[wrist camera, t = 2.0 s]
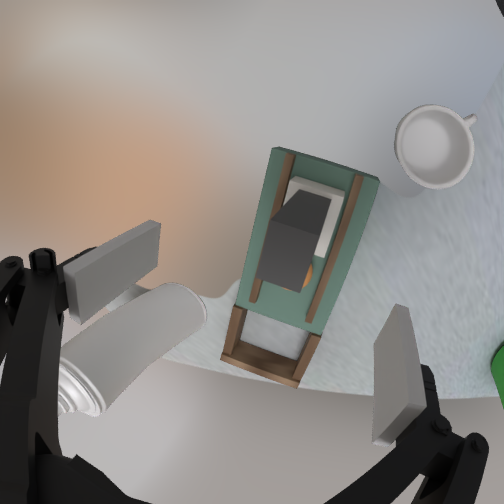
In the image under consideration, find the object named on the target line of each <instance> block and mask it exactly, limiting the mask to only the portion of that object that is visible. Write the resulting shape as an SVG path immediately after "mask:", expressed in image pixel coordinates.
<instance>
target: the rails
mask: <svg viewBox="0 0 504 504" xmlns="http://www.w3.org/2000/svg"><path fill="white" fill-rule="evenodd" d="M295 158H296V154H292V153H289V152H288V153H286V155H285V159H284V163H283V167H282V171H281V175H280V179H279V183H278V187H277V191H276V195H275V199H274V203H273V207H272V211H271V215H270V219H271V218H272V217H273V216H274V215H275V214H276V213H277V212H278V211H279V210H280V209H281V208H282V207H283V204H284V200H285V197H286V193H287V189H288V185H289V181H290V177H291V173H292V170H293V166H294V162H295ZM363 179H364V176H363V175H360V174H357V173H356V174H355V177H354V181H353V184H352V187H351V190H350V194H349V197H348V200H347V203H346V206H345V209H344V213H343V216H342V219H341V222H340V225H339V228H338V231H337V234H336V237H335V239H334V242H333V245H332V248H331V251H330V254H329V257H328V260H327V262H326V265H325V268H324V271H323V273H322V276H321V279H320V282H319V284H318V287H317V290H316V292H315V295H314V297H313V300H312V303H311V305H310V308H309V310H308V313H307V316H306V319H305V322H307V323H310V324H311V323H312V321H313V318H314V316H315V314H316V311H317V309H318V306H319V304H320V301H321V299H322V296H323V294H324V291H325V289H326V286H327V283H328V281H329V278H330V276H331V273H332V270H333V268H334V265H335V262H336V259H337V257H338V254H339V251H340V248H341V246H342V243H343V240H344V237H345V234H346V231H347V229H348V226H349V223H350V220H351V217H352V214H353V211H354V208H355V205H356V202H357V199H358V195H359V192H360V189H361V186H362V183H363ZM270 219H269V223H270ZM269 223H268V227H269ZM268 227H267V230H268ZM266 234H267V231H266ZM265 238H266V235H265ZM264 242H265V239H264ZM263 246H264V243H263ZM262 250H263V247H262ZM261 254H262V251H261ZM260 258H261V255H260ZM260 258H259V262H260ZM259 262H258V266H259ZM258 266H257V270H258ZM257 270H256V273H257ZM255 277H256V274H255ZM262 283H263V280H260V279H258V278H254V282H253V286H252V290H251V294H250V297H249V302H251V303H254V304H255V303H256V301H257V300H258V297H259V293H260V290H261V286H262Z"/></svg>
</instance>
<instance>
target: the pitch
mask: <svg viewBox="0 0 504 504" xmlns="http://www.w3.org/2000/svg"><path fill="white" fill-rule="evenodd" d="M288 152H289V153H292V154H296V158H295V162H294V166H293V170H292V173H291V177H290V180H291V179H292V178H293V177H295V176H298V177H301V178H305V179H308V180H311V181H314V182H318V183H321V184H324V185H327V186H330V187H333V188H336V189H339V190H342V191H345V195H344V200H343V203H342V206H341V209H340V212H339V215H338V218H337V222H336V225H335V228H334V231H333V234H332V237H331V240H330V242H329V245H328V248H327V251H326V254H325V257H324V258H323V257H320V256H317V255H314V256H313V259H312V262H311V264H312V269H313V273H312V277H311V280H310V282H309V283H308V284H307V285H306V286H305V287H303V288H302V290H301V293H297V292H294V291H290V290H286V289H284V288H282V287H280V286H277V285H274V284H272V283H269V282H266V281H263V283H262V286H261V290H260V293H259V297H258V300H257V301H256V303H255V304H254V303H251V302H249V297H250V294H251V290H252V286H253V282H254V278H255V274H256V270H257V266H258V262H259V258H260V255H261V251H262V247H263V243H264V239H265V235H266V231H267V227H268V223H269V219H270V215H271V211H272V207H273V203H274V199H275V195H276V191H277V187H278V183H279V179H280V175H281V171H282V167H283V163H284V159H285V155H286V153H288ZM356 173H357V174H360V175H363V176H364V179H363V183H362V186H361V189H360V192H359V195H358V199H357V202H356V205H355V208H354V211H353V214H352V217H351V220H350V223H349V226H348V229H347V231H346V234H345V237H344V240H343V243H342V246H341V248H340V251H339V254H338V257H337V259H336V262H335V265H334V268H333V270H332V273H331V276H330V278H329V281H328V283H327V286H326V289H325V291H324V294H323V296H322V299H321V301H320V304H319V306H318V309H317V311H316V314H315V316H314V318H313V321H312V323H311V324H310V323H307V322H305V319H306V316H307V313H308V310H309V308H310V305H311V303H312V300H313V297H314V295H315V292H316V290H317V287H318V284H319V282H320V279H321V276H322V273H323V271H324V268H325V265H326V262H327V260H328V257H329V254H330V251H331V248H332V245H333V242H334V239H335V237H336V234H337V231H338V228H339V225H340V222H341V219H342V216H343V213H344V209H345V206H346V203H347V200H348V197H349V194H350V190H351V187H352V184H353V181H354V177H355V174H356ZM379 183H380V181H379V179H378V177H375V176H373V175H370V174H367V173H364V172H361V171H358V170H355V169H352V168H349V167H346V166H343V165H340V164H337V163H334V162H331V161H327V160H324V159H321V158H317V157H314V156H310V155H307V154H304V153H300V152H296V151H293V150H290V149H286V148H282V147H275V148H272V150H271V154H270V158H269V163H268V167H267V171H266V176H265V180H264V184H263V189H262V193H261V197H260V201H259V205H258V210H257V214H256V218H255V222H254V226H253V231H252V236H251V239H250V244H249V248H248V252H247V257H246V261H245V265H244V270H243V274H242V278H241V282H240V287H239V291H238V295H237V300H236V304H235V305H237V306H240V307H243V308H245V309H248V310H251V311H253V312H256V313H259V314H261V315H264V316H267V317H270V318H272V319H275V320H278V321H281V322H284V323H286V324H289V325H292V326H295V327H298V328H301V329H303V330H306V331H309V332H312V333H315V334H318V335H321V334H322V331H323V329H324V327H325V325H326V323H327V320H328V318H329V316H330V313H331V311H332V309H333V307H334V304H335V302H336V300H337V297H338V295H339V292H340V290H341V288H342V285H343V283H344V280H345V278H346V275H347V273H348V270H349V268H350V265H351V263H352V260H353V257H354V255H355V252H356V250H357V247H358V244H359V241H360V239H361V236H362V233H363V231H364V228H365V225H366V222H367V219H368V216H369V214H370V211H371V208H372V205H373V202H374V199H375V196H376V193H377V190H378V187H379Z"/></svg>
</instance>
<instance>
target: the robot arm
mask: <svg viewBox="0 0 504 504" xmlns="http://www.w3.org/2000/svg"><path fill="white" fill-rule="evenodd" d="M496 2H497V5H498V7H499V9H500V11H501V13H502V15H503V17H504V0H496ZM160 228H161V223H158V222H155V221H152V220H149V221H146V222H144V223H142V224H141V225H139V226H137V227H135V228H133V229H131V230H129V231H127V232H125V233H123V234H121V235H119V236H117V237H115V238H113V239H112V240H110V241H108V242H106V243H104V244H102V245H101V246H99V247H93V248H89V249H86V250H84V251H82V252H81V253H80V254H77V255H75V256H74V257H72V258H70V259H68V260H66V261H64V262H63V263H61V264H59V265H56V255H55V252H54V251H53V250H52V249H48V248H40V249H37V250H34V251H33V252H31V253H30V254H29V261H30V267H31V269H28V268H24V265H23V259H21V258H20V257H18V256H11V257H10V256H9V257H7V258H5V259H4V260H2V261H1V262H0V365H1V363H2V361H3V359H4V357H5V355H6V359H5V363H4V368H3V374H2V379H1V384H0V504H151V503H148V502H144V501H141V500H137V499H134V498H131V497H129V496H127V495H125V494H124V493H123V492H122V491H121V490H120V489H119V488H118V487H117V486H116V485H115V484H114V483H113V482H112V481H111V480H110V479H109V478H107V476H106V475H105V474H104V473H103V472H102V471H100V470H98V469H97V468H96V467H94V466H93V465H91V464H89V463H88V462H87V461H85V460H84V459H82V458H81V457H79V456H78V455H77V454H76V456H75V457H74V458H73V459H71V458H68V457H65V456H63V455H62V451H61V448H60V445H59V439H58V381H59V363H60V350H61V339H62V330H63V322H64V314H63V311H65V310H66V309H67V308H69V315H70V318H71V319H73V320H74V321H76V322H77V323H79V324H81V325H82V324H83V323H84V322H86V321H87V320H88V319H89V318H91V317H92V316H93V315H95V314H96V313H97V312H98V311H99V310H101V309H102V308H103V307H105V306H106V305H107V304H108V303H110V302H111V301H112V300H114V299H115V298H116V297H117V296H119V295H120V294H121V293H123V292H124V291H125V290H127V289H128V288H129V287H130V286H132V285H133V284H134V283H136V282H137V281H138V280H140V279H141V278H142V277H144V276H145V275H146V274H147V273H149V272H150V271H151V270H153V269H154V268H156V267H157V263H158V250H159V239H160ZM6 298H7V301H6V303H5V300H6ZM6 353H7V354H6ZM436 391H437V390H436V385H435V379H434V375H433V373H432V371H431V370H430V368H429V366H426V365H423V364H420V360H419V355H418V349H417V344H416V339H415V335H414V330H413V326H412V321H411V317H410V313H409V308H407V307H405V306H402V305H399V304H395V306H394V308H393V310H392V311H391V313H390V315H389V317H388V319H387V321H386V323H385V325H384V327H383V328H382V330H381V332H380V334H379V336H378V337H377V339H376V341H375V343H374V408H373V430H372V431H373V432H372V444H375V445H380V446H385V447H389V446H390V445H391V444H392V443H393V442H394V440H396V447H395V448H394V449H393V450H392V451H391V452H390V453H389V454H387V455H386V456H385V457H384V458H383V459H382V460H381V461H380V462H378V463H377V464H376V465H375V466H373V467H372V468H371V469H370V470H369V471H368V472H366V473H365V474H364V475H363V476H361V477H360V478H359V479H357V480H356V481H355V482H353V483H352V484H351V485H350V486H348V487H347V488H346V489H344V490H343V491H341V492H340V493H338V494H337V495H336V496H334V497H333V498H331V499H330V500H328V501H327V502H325V503H324V504H390V503H392V502H393V501H394V500H395V499H396V498H397V497H398V496H399V495H400V494H401V493H402V492H403V491H404V490H405V489H406V488H407V487H408V486H409V485H410V483H411V482H412V481H413V480H414V479H415V478H416V477H417V476H418V475H419V474H422V475H424V476H425V478H424V480H423V482H422V484H421V486H420V488H419V490H418V491H417V493H416V495H415V497H414V499H413V501H412V503H411V504H474V503H475V499H476V496H477V493H478V490H479V487H480V484H481V480H482V477H483V473H484V469H485V465H486V461H487V457H488V453H489V446H488V443H487V441H486V439H485V438H484V437H483V436H482V435H481V434H479V433H471V434H469V435H468V436H467V437H466V438H462V437H461V436H459V435H457V434H455V433H453V432H452V427H451V425H450V422H449V421H448V420H447V419H446V418H445V417H444V416H442V415H441V414H440V408H439V401H438V395H437V392H436Z"/></svg>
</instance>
